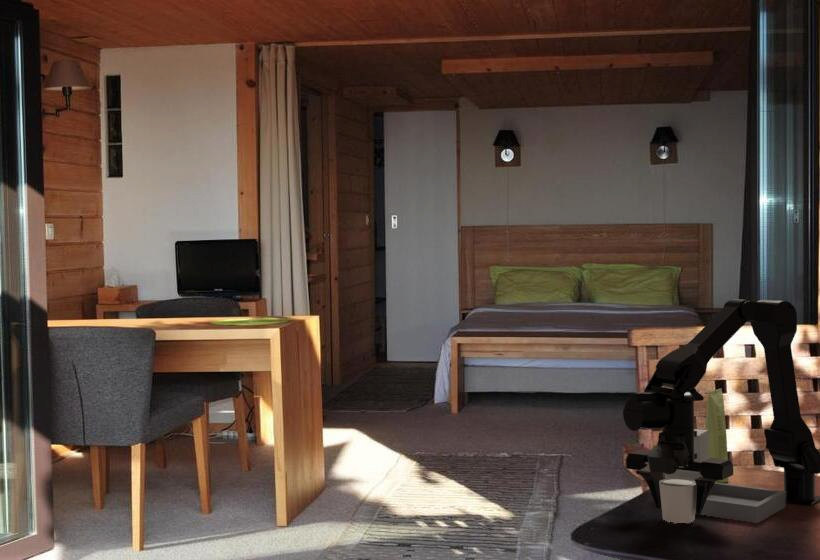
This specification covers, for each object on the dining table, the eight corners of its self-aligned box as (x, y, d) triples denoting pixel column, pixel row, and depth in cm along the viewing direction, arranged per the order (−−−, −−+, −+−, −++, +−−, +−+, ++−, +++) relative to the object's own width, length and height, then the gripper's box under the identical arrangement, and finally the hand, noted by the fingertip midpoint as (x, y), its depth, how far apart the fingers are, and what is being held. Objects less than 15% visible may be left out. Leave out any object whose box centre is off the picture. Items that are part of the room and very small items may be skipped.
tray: (709, 496, 211) (709, 481, 211) (785, 506, 202) (785, 491, 202) (678, 511, 199) (678, 495, 199) (757, 523, 190) (757, 506, 190)
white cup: (699, 525, 189) (699, 486, 189) (659, 523, 191) (659, 485, 190) (696, 515, 196) (696, 478, 196) (658, 514, 197) (658, 477, 197)
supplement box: (710, 491, 216) (710, 429, 215) (699, 498, 210) (699, 435, 209) (675, 487, 220) (674, 426, 219) (663, 494, 213) (662, 432, 213)
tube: (699, 478, 228) (698, 388, 227) (722, 477, 228) (721, 387, 228) (709, 484, 222) (708, 391, 222) (732, 483, 223) (732, 390, 222)
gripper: (610, 427, 192) (611, 513, 193) (709, 437, 181) (710, 528, 181) (638, 419, 201) (639, 501, 201) (734, 428, 189) (734, 515, 190)
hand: (678, 511), depth 193 cm, fingers open, 7 cm apart
